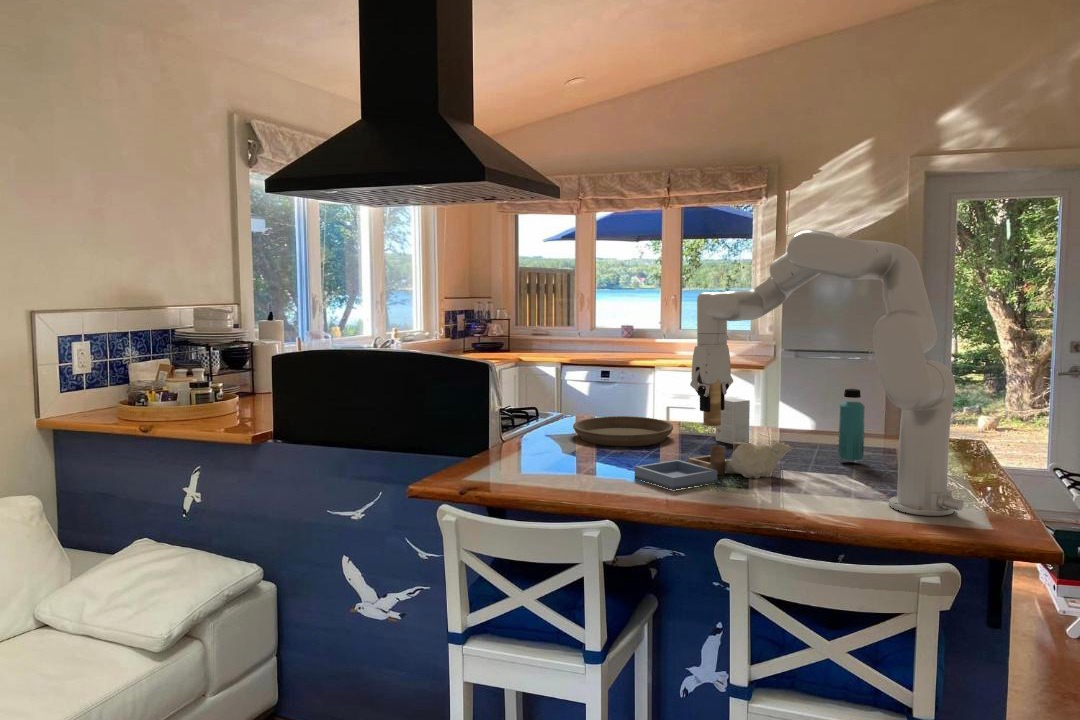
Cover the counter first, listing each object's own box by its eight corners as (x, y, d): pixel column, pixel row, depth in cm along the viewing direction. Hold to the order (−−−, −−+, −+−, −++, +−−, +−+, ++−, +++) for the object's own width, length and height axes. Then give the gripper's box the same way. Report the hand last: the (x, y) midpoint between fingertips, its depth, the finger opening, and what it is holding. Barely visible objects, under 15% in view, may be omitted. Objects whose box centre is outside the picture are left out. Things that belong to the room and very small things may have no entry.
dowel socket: (730, 467, 209) (730, 460, 209) (708, 471, 205) (709, 463, 205) (709, 462, 216) (709, 455, 216) (688, 465, 212) (688, 458, 212)
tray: (717, 483, 193) (717, 470, 193) (673, 491, 185) (673, 477, 185) (677, 472, 205) (677, 459, 204) (634, 479, 197) (634, 466, 197)
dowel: (724, 424, 208) (724, 378, 207) (712, 426, 206) (711, 379, 205) (712, 422, 212) (712, 377, 211) (699, 424, 210) (699, 378, 209)
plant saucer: (618, 453, 229) (618, 437, 229) (553, 436, 254) (553, 422, 254) (694, 440, 248) (694, 425, 247) (625, 426, 272) (626, 412, 272)
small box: (749, 443, 242) (750, 400, 241) (733, 445, 239) (734, 401, 238) (730, 438, 249) (731, 397, 248) (714, 440, 246) (715, 398, 245)
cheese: (719, 487, 197) (765, 456, 189) (709, 462, 202) (754, 430, 193) (757, 497, 206) (803, 467, 198) (747, 472, 211) (791, 442, 202)
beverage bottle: (865, 466, 211) (868, 390, 209) (839, 465, 212) (841, 390, 211) (861, 461, 217) (863, 387, 216) (835, 460, 219) (837, 387, 217)
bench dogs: (750, 470, 206) (750, 443, 206) (717, 476, 200) (717, 448, 199) (739, 467, 209) (740, 441, 209) (707, 473, 203) (707, 446, 202)
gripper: (725, 338, 215) (725, 406, 216) (677, 341, 206) (677, 411, 207) (746, 339, 209) (745, 409, 210) (698, 342, 200) (698, 415, 201)
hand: (712, 409), depth 209 cm, fingers closed on dowel, 4 cm apart
